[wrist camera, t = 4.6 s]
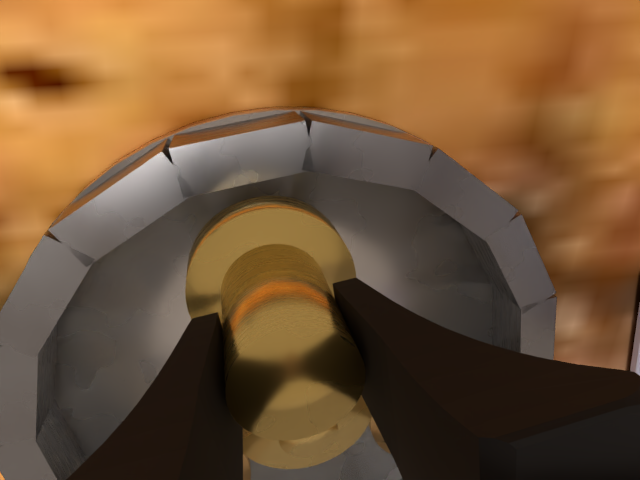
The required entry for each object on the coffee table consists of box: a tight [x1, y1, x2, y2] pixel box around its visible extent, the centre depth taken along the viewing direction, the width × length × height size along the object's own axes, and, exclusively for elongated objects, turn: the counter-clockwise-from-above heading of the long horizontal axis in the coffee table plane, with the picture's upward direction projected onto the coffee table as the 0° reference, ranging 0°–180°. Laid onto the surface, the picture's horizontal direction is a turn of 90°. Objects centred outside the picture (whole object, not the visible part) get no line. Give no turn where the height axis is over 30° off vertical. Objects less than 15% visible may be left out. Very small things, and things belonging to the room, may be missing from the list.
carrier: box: [0, 107, 557, 480], centre depth 17 cm, size 20×20×6 cm
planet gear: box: [185, 196, 366, 441], centre depth 12 cm, size 5×5×5 cm
